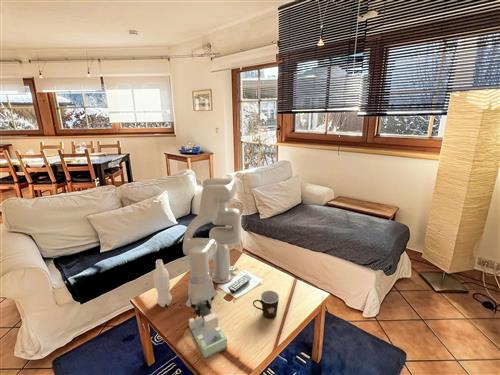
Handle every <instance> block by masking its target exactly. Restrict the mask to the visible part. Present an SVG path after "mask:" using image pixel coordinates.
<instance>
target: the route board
mask: <svg viewBox="0 0 500 375" xmlns="http://www.w3.org/2000/svg"><path fill="white" fill-rule="evenodd" d="M187 326H188V328H189V329H191V330H190V332H191V333H192V336H193V338H194V340H195V342H196V344H197V346H198V348H199V350H200V352H201V355H202V357H203V358H204V360H207V359H208V358H210V357H212V356H215V355H216V354H217V353H221V352H222V351H224V350H226V349H228V337H227V336H226V334H225V333H224V331H223V330H222V328H221V327H220V325H218V327H217V328H214V329H212V330H210V331H208V332H207V330H206V329H205V327H204V320H203V318H202V317H199V318H198V319H195V318H194V317H192V318H189V319H188V325H187Z"/></svg>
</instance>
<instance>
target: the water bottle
mask: <svg viewBox="0 0 500 375" xmlns="http://www.w3.org/2000/svg"><path fill="white" fill-rule="evenodd" d="M168 271H169V270H167V268H165V266H164V262H163V260H162V259H160V258H159V259H157V260H156V261H155V270H154V273H153V281H154V289H156V291H157V299H156V302H157V304H158V305H159V306H160V307H162V308H165V307H166V306H170V305H171V303H172V299H173V296H172V295H171V292H170V287H171V281H170V275H169V274H170V273H169V272H168Z"/></svg>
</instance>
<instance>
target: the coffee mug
mask: <svg viewBox="0 0 500 375" xmlns="http://www.w3.org/2000/svg"><path fill="white" fill-rule="evenodd" d="M279 300H280V296H279V294H278V292H276V291H275V290H265V291H263V292H262V293H261V294H260V299H255V300H254V301H253V302H252V305H253V307H254V308H256V309H258V310H260V311H262V315H263V317H264V318H265V319H268V320H274V319H275V318H276V317H277V314H278V313H277V312H278V306H279ZM257 302H259V303H260V304H261V308H260V307H259V306H256V305H255V303H257Z"/></svg>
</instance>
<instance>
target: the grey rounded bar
mask: <svg viewBox="0 0 500 375" xmlns="http://www.w3.org/2000/svg"><path fill="white" fill-rule="evenodd" d="M199 309H200V318H203V320H204V327H205V329H206V330H207V332H208V331H210V330H212V329H214V328H217V327H218V326H219V317H218V315H217V313H216V312H215V311H214V312H210V311H211V309H210V310H209V308H208V307H207V305H206V301H203V302H200V303H199Z"/></svg>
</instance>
